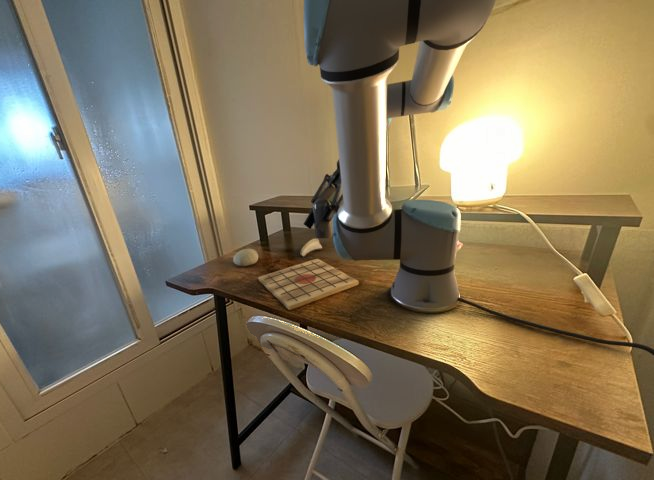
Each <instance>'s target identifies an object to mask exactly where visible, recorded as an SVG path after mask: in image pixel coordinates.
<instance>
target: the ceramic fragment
mask: <svg viewBox="0 0 654 480" xmlns="http://www.w3.org/2000/svg"><path fill="white" fill-rule="evenodd" d="M314 251H323V246H322V245H321V243H320V240H319V238H312V239H310V240H309V241H308V242H306V243H305V244H304V245H303V246H302V247H301V249H300V252H299V254H300V255H301V256H302V258H305V257H306V256H307V255H308V254H309V253H312V252H314Z"/></svg>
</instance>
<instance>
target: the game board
mask: <svg viewBox="0 0 654 480" xmlns="http://www.w3.org/2000/svg"><path fill="white" fill-rule="evenodd" d="M257 278H258V281H259V282H260V283H261V284H262V285H263V286H264V287H265V289H267V290H268V292H270V293H271V294H272V295H273V296H274V297H275V298H276V299H277V300H278V301H280V303H281V304H282V305H283V306H285V308H286V309H287V310H288V311H291V310H294V309H297V308H300V307H302V306H306V305H308V304H310V303H313V302H316V301H319V300H321V299H324V298H326V297H330V296H332V295H334V294H337V293H340V292H343V291H345V290H348V289H351V288H354V287H356V286H357V287H358V286H359V285H360V283H359V280H357V279H355V278H354V277H352V276H351V275H348V274H347V273H344V272H343V271H342V270H339V269H337V268H336V267H334V266H332V265H330V264H329V263H326V262H324V261H323V260H321V259H320V258H314V259H311V260H308V261H304V262H302V263H299V264H296V265H291V266H289V267H286V268H283V269H279V270H277V271H273V272H270V273H267V274H263V275H261V276H258V277H257Z"/></svg>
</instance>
